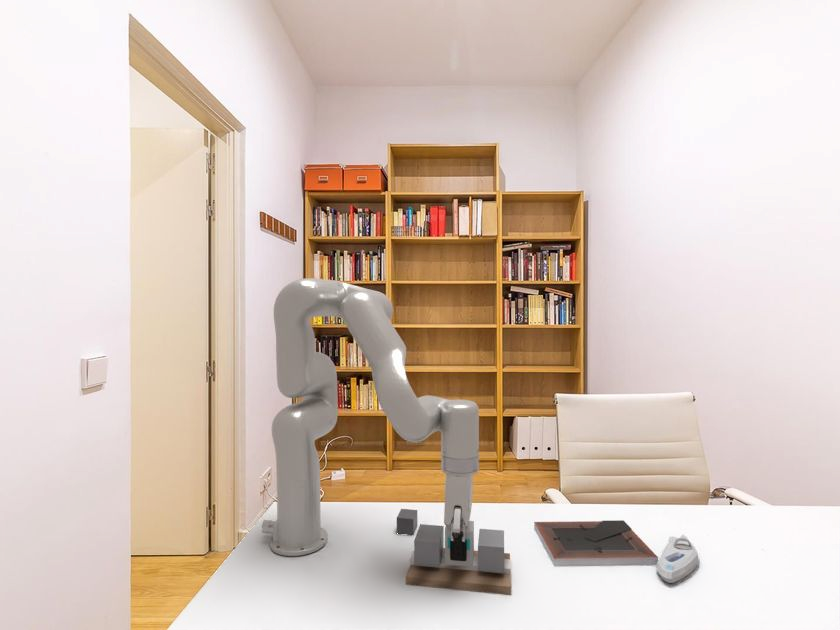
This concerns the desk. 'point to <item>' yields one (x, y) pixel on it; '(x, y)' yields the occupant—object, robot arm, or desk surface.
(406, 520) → the grey rectangular block
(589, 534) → the picture frame
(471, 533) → the block
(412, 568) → the rail board
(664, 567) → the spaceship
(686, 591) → the desk surface
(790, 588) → the desk surface
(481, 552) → the mounted modules
